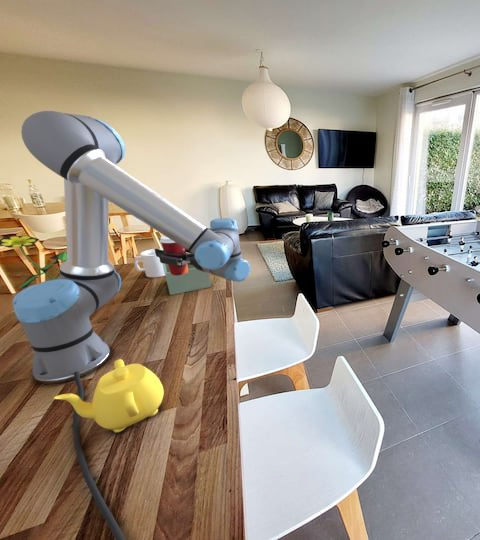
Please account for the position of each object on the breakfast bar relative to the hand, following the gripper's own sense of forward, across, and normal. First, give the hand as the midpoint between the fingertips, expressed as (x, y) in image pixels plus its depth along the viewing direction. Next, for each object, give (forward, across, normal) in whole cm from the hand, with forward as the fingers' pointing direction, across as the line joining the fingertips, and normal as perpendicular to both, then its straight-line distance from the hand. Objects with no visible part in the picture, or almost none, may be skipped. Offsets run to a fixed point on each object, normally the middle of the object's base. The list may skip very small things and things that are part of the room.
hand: (168, 249), depth 105 cm
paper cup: (-4, 0, -9) cm, 9 cm away
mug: (+36, +11, -22) cm, 44 cm away
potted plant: (+20, -26, -22) cm, 39 cm away
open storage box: (+12, +12, -22) cm, 28 cm away
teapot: (-40, -39, -22) cm, 60 cm away
